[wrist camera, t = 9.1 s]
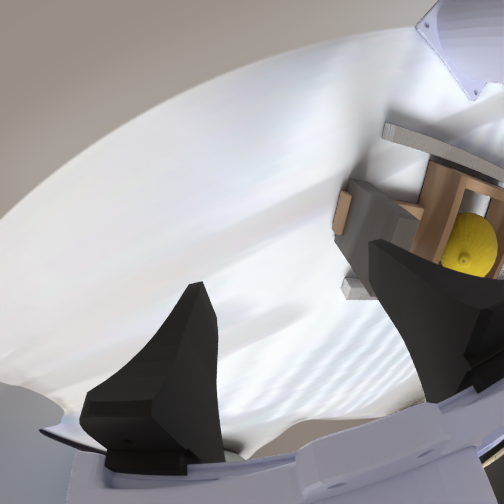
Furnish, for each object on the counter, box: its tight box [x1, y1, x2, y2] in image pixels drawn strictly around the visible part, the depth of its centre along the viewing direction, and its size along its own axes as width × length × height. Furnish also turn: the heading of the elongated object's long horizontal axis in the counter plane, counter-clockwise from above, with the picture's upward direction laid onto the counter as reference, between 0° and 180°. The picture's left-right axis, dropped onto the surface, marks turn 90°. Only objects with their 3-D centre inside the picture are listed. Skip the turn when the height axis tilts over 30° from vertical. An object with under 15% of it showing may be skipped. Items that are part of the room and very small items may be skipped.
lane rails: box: [341, 123, 504, 300], centre depth 23 cm, size 26×14×2 cm, turn 83°
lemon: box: [440, 213, 498, 277], centre depth 20 cm, size 6×6×8 cm
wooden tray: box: [332, 161, 504, 297], centre depth 19 cm, size 18×11×7 cm, turn 83°
